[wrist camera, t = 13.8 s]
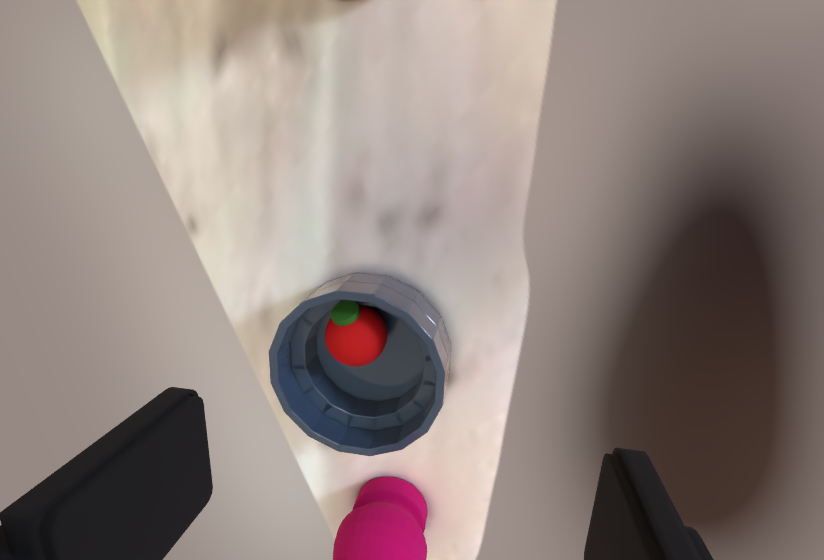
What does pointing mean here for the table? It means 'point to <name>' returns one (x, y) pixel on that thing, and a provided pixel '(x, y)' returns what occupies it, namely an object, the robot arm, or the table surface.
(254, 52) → the table surface
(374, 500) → the pepper mill
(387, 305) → the bowl
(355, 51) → the table surface
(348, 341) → the strawberry
